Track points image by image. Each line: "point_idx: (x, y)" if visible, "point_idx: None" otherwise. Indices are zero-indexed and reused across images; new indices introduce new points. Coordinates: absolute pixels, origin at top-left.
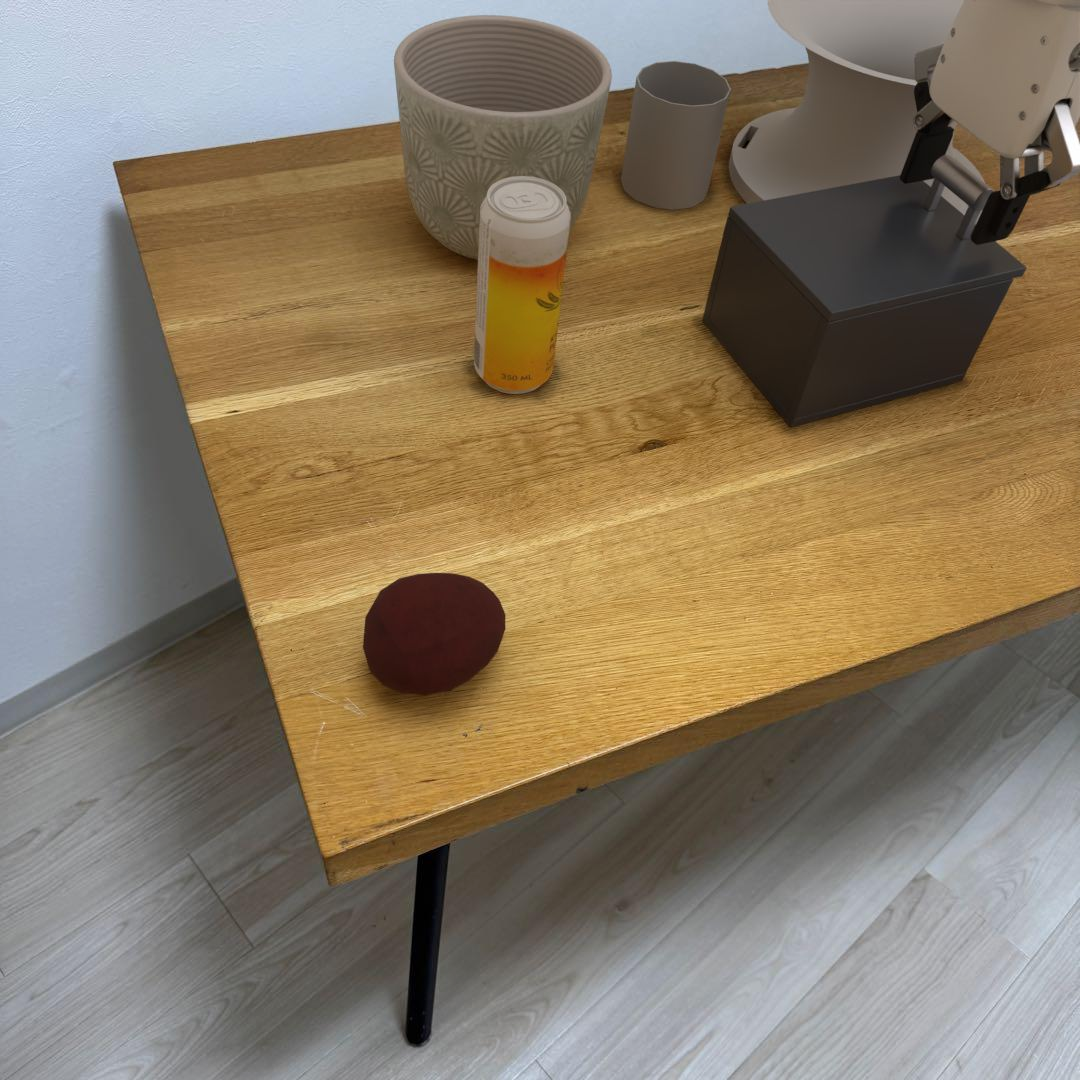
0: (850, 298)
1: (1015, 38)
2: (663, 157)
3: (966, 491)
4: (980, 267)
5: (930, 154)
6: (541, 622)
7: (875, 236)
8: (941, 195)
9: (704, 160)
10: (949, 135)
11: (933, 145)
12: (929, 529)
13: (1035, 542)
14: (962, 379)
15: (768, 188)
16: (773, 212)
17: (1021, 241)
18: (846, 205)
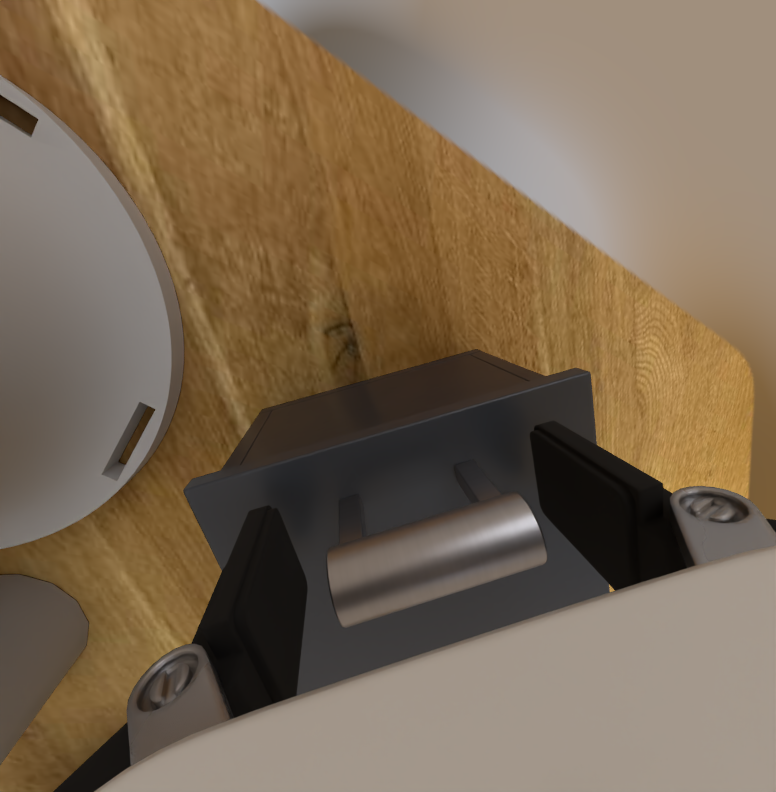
0: None
1: None
2: (23, 730)
3: (632, 417)
4: None
5: (283, 610)
6: None
7: (447, 631)
8: (1, 207)
9: (6, 666)
10: (250, 621)
11: (276, 637)
12: (661, 471)
13: (707, 375)
14: (477, 349)
15: (17, 517)
16: None
17: (86, 18)
18: (340, 659)
